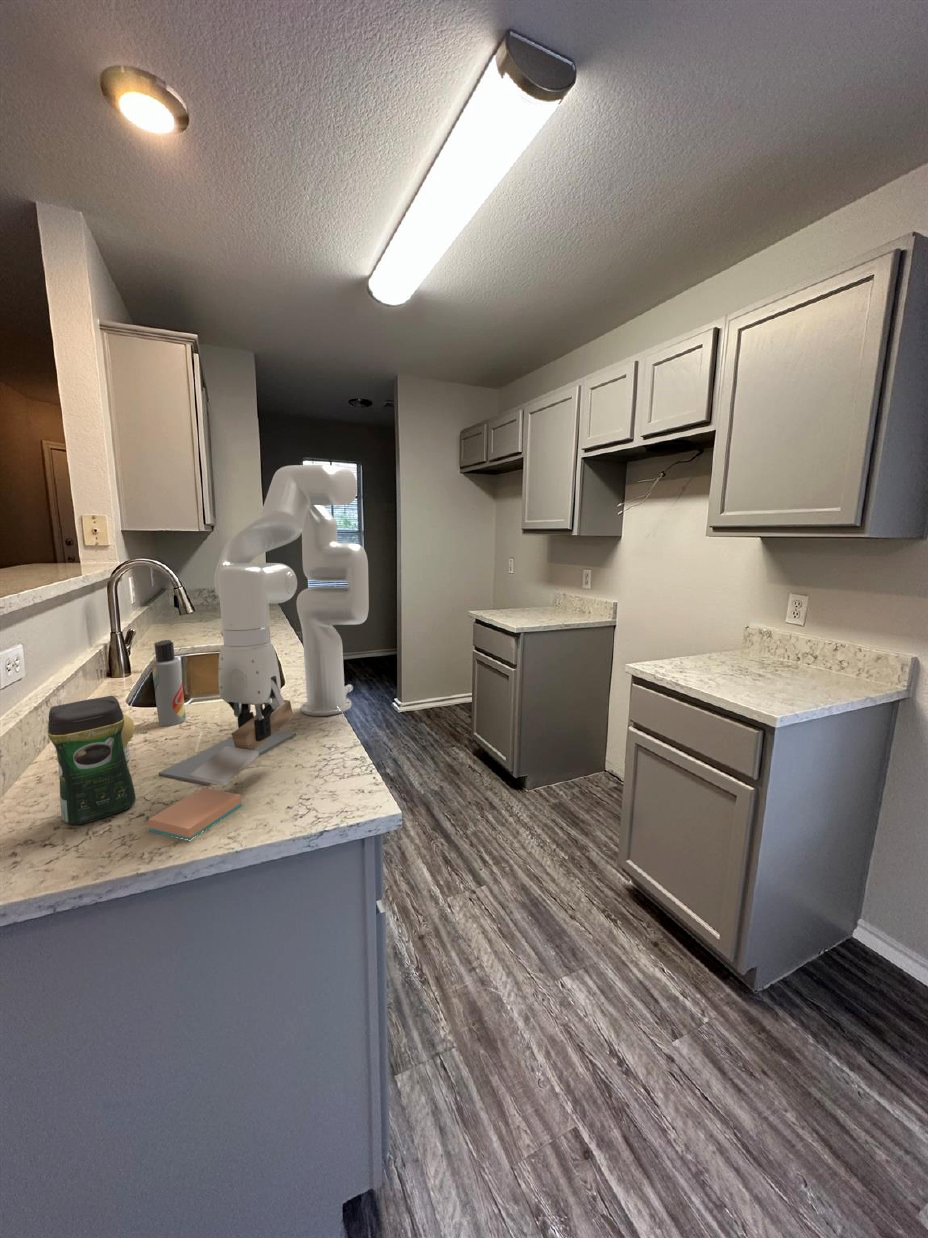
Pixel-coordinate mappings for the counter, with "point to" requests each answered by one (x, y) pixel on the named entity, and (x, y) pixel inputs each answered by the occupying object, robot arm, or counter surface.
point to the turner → (239, 750)
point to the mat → (194, 762)
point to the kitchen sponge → (195, 813)
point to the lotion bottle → (168, 685)
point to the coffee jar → (91, 759)
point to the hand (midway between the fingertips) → (255, 736)
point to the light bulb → (127, 734)
